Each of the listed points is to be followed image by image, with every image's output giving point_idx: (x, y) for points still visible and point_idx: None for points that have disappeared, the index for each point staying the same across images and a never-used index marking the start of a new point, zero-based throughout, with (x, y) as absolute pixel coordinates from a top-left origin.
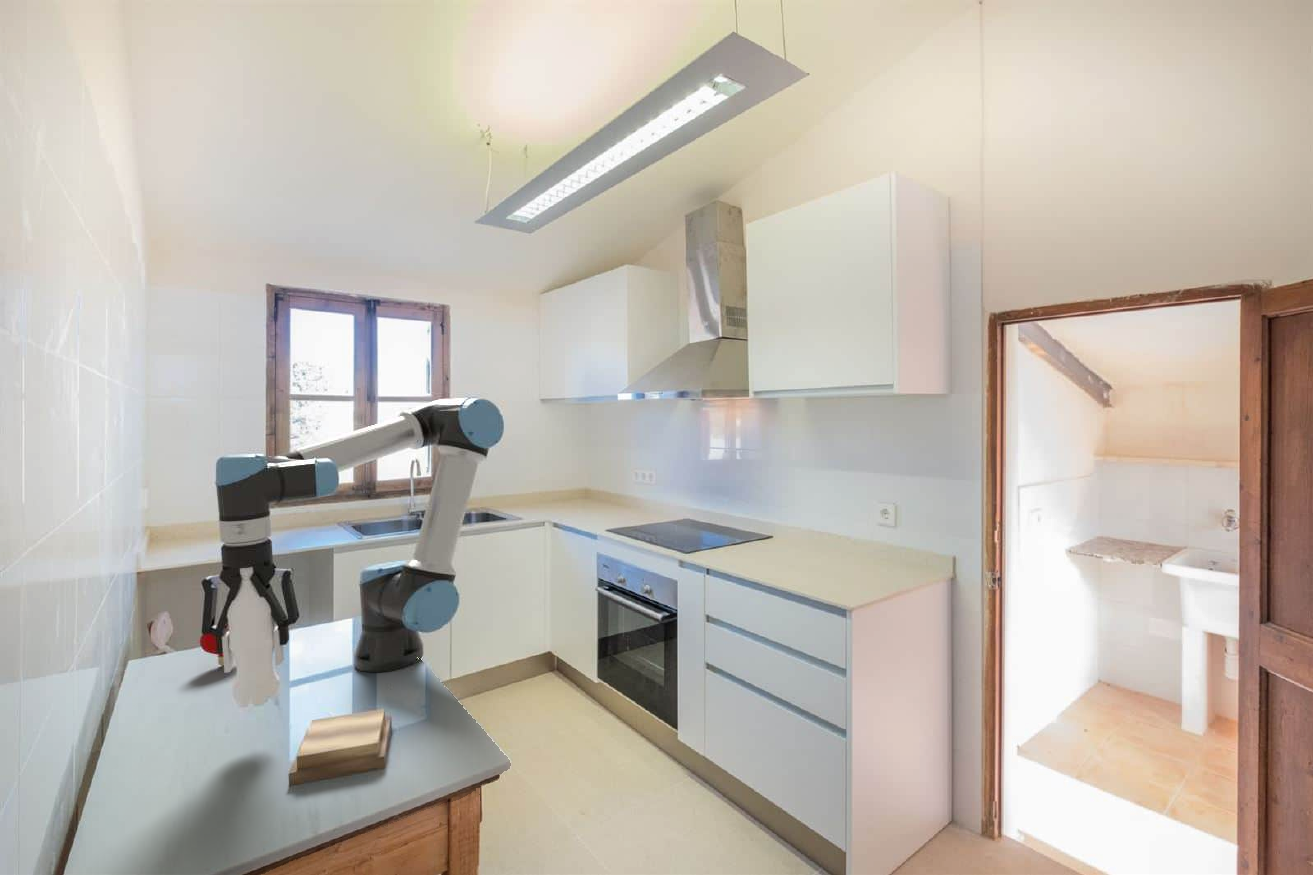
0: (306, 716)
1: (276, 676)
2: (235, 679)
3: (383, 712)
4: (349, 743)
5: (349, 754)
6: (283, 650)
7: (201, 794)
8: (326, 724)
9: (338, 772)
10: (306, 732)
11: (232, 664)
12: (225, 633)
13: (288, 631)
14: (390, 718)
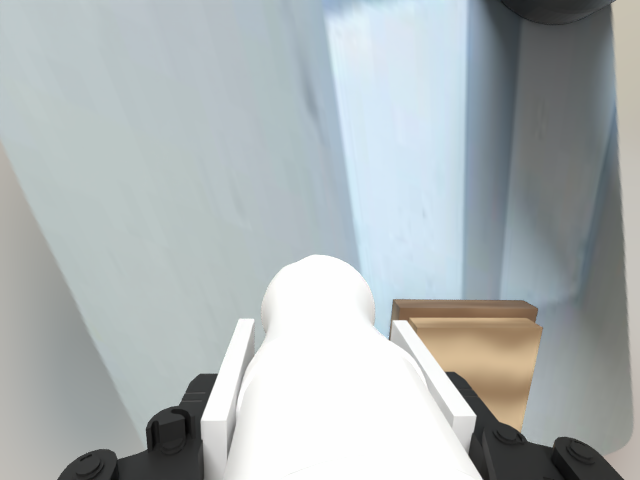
0: (381, 202)
1: (373, 323)
2: (266, 326)
3: (539, 342)
4: None
5: None
6: (418, 337)
7: None
8: (443, 353)
9: None
10: (399, 319)
11: (252, 342)
12: (203, 451)
13: (485, 406)
14: (535, 319)
